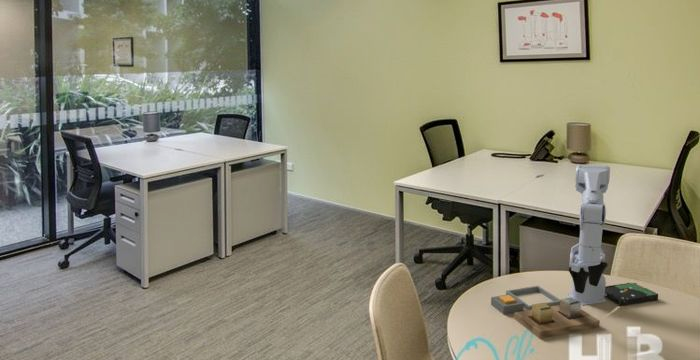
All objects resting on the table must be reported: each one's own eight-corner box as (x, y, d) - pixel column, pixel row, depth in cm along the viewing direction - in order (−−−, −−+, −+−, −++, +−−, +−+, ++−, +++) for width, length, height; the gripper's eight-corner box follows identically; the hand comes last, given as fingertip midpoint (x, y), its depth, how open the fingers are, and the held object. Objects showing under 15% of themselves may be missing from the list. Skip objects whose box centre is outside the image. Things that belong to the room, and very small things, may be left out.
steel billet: (568, 315, 153) (570, 296, 152) (579, 321, 149) (581, 301, 148) (558, 318, 151) (560, 299, 150) (569, 324, 148) (571, 304, 147)
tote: (537, 291, 171) (538, 285, 171) (561, 306, 160) (562, 300, 159) (505, 296, 168) (506, 290, 167) (528, 312, 156) (528, 306, 156)
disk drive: (619, 308, 159) (658, 301, 162) (620, 300, 158) (659, 293, 162) (596, 295, 169) (633, 288, 172) (596, 287, 168) (633, 281, 172)
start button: (508, 303, 161) (509, 295, 160) (515, 308, 158) (515, 299, 157) (498, 305, 160) (499, 296, 159) (505, 310, 157) (505, 301, 156)
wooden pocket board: (570, 310, 157) (571, 302, 157) (599, 328, 146) (599, 320, 145) (514, 320, 152) (514, 312, 151) (539, 340, 141) (539, 331, 140)
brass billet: (542, 321, 150) (543, 301, 149) (551, 327, 146) (552, 307, 145) (531, 323, 149) (532, 303, 148) (539, 329, 145) (540, 309, 144)
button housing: (510, 302, 163) (510, 294, 163) (523, 312, 157) (523, 303, 156) (490, 305, 161) (491, 297, 161) (503, 315, 155) (503, 306, 154)
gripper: (590, 235, 153) (586, 278, 155) (562, 246, 144) (559, 290, 147) (613, 241, 147) (609, 285, 150) (586, 253, 139) (582, 299, 142)
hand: (586, 288), depth 148 cm, fingers open, 7 cm apart
